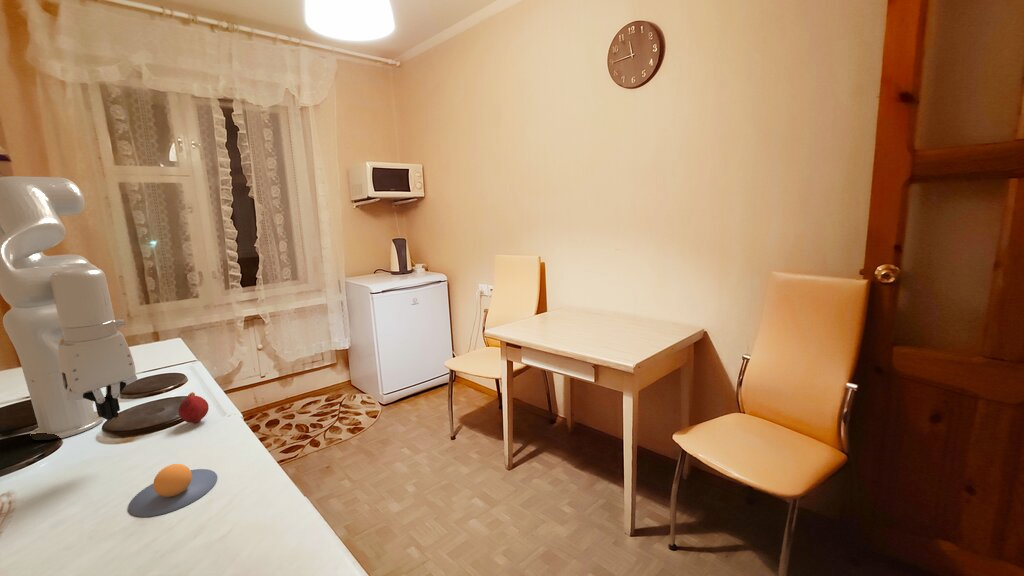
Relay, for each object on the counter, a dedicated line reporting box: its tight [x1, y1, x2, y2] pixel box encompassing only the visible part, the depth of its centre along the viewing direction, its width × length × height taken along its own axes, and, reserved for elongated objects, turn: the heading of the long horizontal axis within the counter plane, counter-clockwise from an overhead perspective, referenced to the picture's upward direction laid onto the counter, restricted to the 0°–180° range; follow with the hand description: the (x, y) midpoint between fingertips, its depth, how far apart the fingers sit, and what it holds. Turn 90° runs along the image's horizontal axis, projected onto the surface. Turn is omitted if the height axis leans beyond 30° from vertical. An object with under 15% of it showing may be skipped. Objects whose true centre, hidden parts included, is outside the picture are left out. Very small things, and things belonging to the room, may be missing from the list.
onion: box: [177, 391, 210, 425], centre depth 104 cm, size 6×6×8 cm
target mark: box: [128, 468, 218, 518], centre depth 79 cm, size 13×13×1 cm
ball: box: [152, 463, 192, 497], centre depth 78 cm, size 6×6×6 cm
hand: (110, 417), depth 87 cm, fingers closed
